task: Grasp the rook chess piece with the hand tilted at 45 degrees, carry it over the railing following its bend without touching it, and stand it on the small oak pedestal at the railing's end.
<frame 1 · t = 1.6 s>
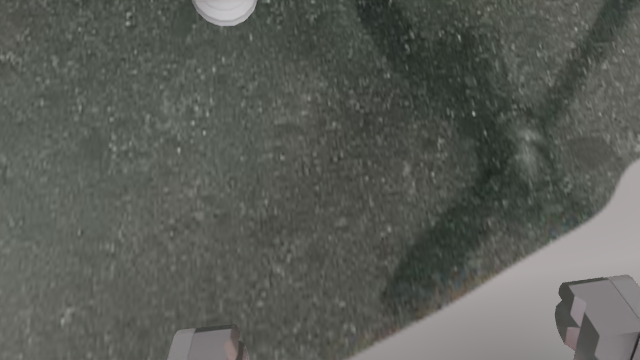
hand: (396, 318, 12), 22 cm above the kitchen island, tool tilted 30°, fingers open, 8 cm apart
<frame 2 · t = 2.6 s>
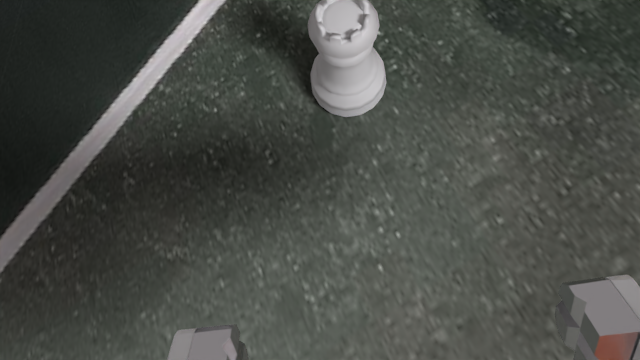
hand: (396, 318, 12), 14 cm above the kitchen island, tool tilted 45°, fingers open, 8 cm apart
rook chess piece: (348, 85, 29), on the kitchen island
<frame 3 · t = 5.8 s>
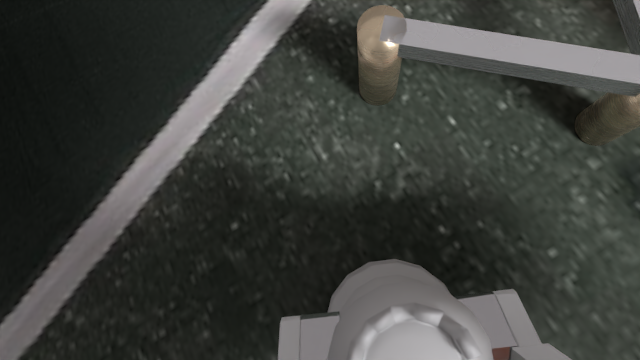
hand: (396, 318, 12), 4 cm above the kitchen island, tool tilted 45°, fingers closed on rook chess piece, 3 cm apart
railing: (536, 65, 17), on the kitchen island
rook chess piece: (390, 324, 16), on the kitchen island, touching gripper
when the fingers open (11 cm above the kitchen island, at t = 10.5 s): rook chess piece drops 1 cm, resting on pedestal.
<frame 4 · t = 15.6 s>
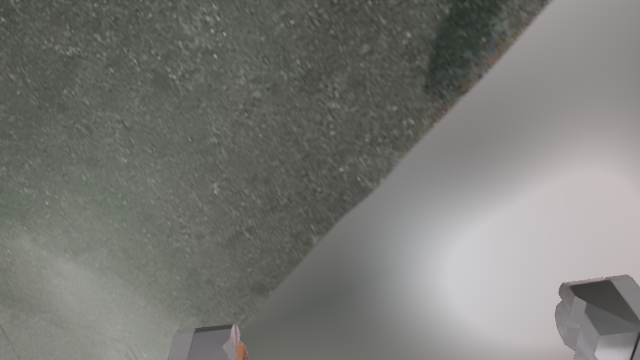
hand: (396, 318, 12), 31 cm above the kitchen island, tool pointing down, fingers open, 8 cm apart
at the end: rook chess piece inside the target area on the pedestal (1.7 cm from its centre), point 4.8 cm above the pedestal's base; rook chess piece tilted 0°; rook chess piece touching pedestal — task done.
